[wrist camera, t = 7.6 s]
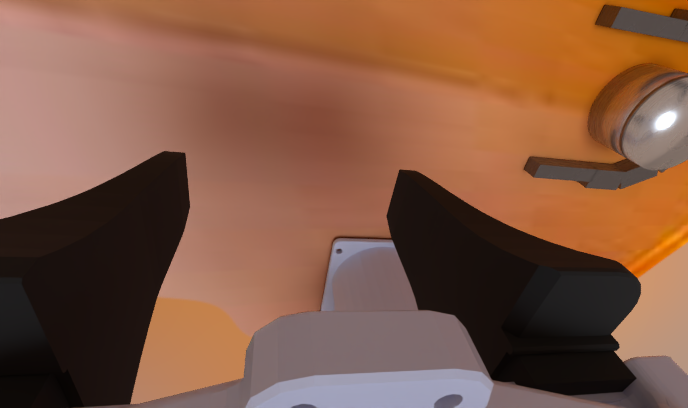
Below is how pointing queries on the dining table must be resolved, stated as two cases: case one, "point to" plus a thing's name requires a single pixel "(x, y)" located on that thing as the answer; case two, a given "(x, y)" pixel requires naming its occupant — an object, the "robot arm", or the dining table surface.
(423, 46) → the dining table surface
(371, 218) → the dining table surface
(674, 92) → the cylinder
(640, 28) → the u-shaped bracket
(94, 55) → the dining table surface
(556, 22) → the dining table surface
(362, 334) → the robot arm
